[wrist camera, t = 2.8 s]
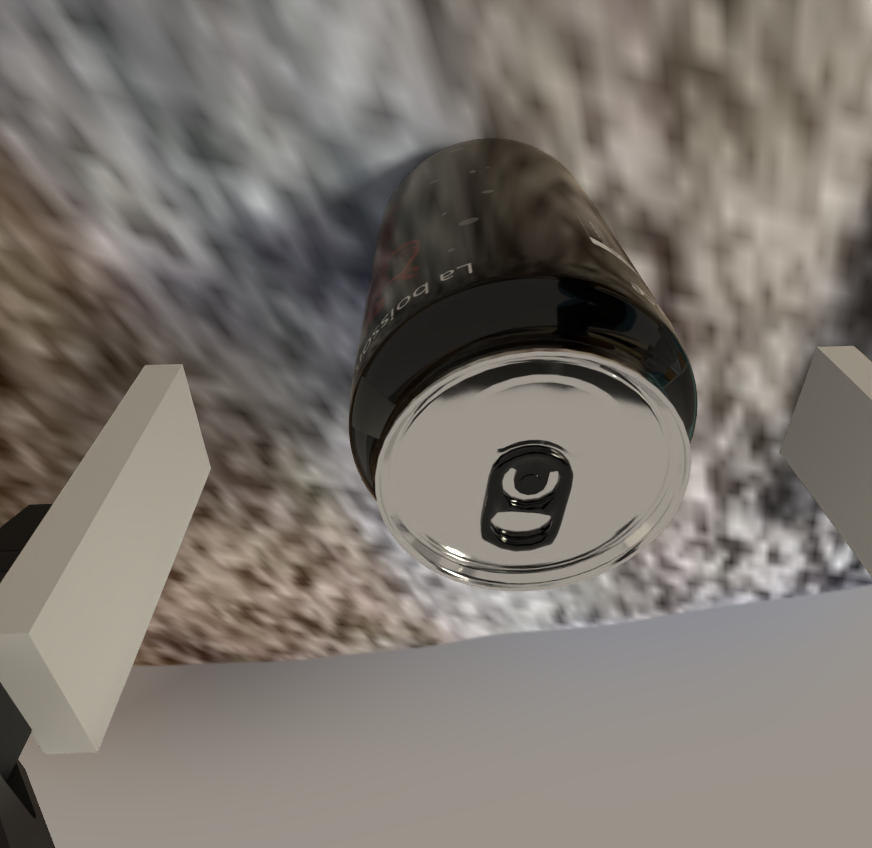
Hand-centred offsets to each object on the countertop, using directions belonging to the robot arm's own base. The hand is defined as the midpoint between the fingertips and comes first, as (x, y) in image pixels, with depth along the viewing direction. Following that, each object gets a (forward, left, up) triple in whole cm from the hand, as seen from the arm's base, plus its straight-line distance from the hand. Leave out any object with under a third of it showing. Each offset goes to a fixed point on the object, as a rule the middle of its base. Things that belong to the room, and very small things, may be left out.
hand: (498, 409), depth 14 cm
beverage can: (0, 0, -9) cm, 9 cm away
